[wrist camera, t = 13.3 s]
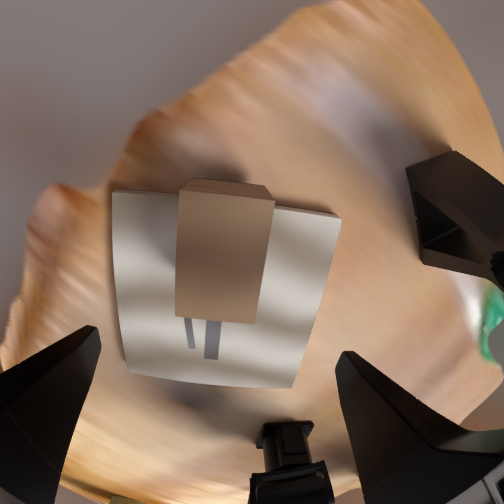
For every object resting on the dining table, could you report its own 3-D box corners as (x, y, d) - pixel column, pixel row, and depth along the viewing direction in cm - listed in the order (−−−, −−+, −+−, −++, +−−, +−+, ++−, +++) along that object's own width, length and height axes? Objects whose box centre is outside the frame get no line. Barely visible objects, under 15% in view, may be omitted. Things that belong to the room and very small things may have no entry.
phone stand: (404, 166, 19) (527, 203, 8) (453, 150, 18) (563, 176, 7) (420, 262, 22) (507, 338, 11) (463, 239, 21) (549, 296, 10)
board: (289, 379, 26) (291, 388, 25) (131, 363, 24) (128, 372, 23) (336, 214, 20) (342, 219, 19) (118, 189, 18) (112, 192, 17)
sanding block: (249, 282, 20) (254, 324, 15) (187, 276, 20) (174, 316, 15) (264, 185, 18) (275, 201, 13) (194, 177, 17) (179, 190, 12)
